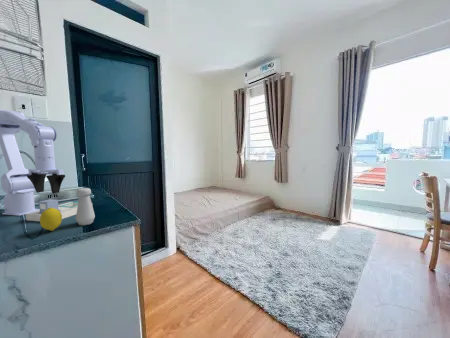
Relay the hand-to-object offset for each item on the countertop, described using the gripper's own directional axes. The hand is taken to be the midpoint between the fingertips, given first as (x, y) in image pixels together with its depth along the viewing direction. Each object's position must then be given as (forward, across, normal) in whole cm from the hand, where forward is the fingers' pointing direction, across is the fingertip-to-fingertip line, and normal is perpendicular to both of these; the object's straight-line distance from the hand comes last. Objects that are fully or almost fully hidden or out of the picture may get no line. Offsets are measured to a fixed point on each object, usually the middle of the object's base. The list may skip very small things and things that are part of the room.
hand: (47, 192), depth 78 cm
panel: (+10, 0, +5) cm, 11 cm away
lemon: (+10, +14, -10) cm, 20 cm away
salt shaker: (+10, +19, -2) cm, 22 cm away
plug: (+10, 0, 0) cm, 10 cm away
